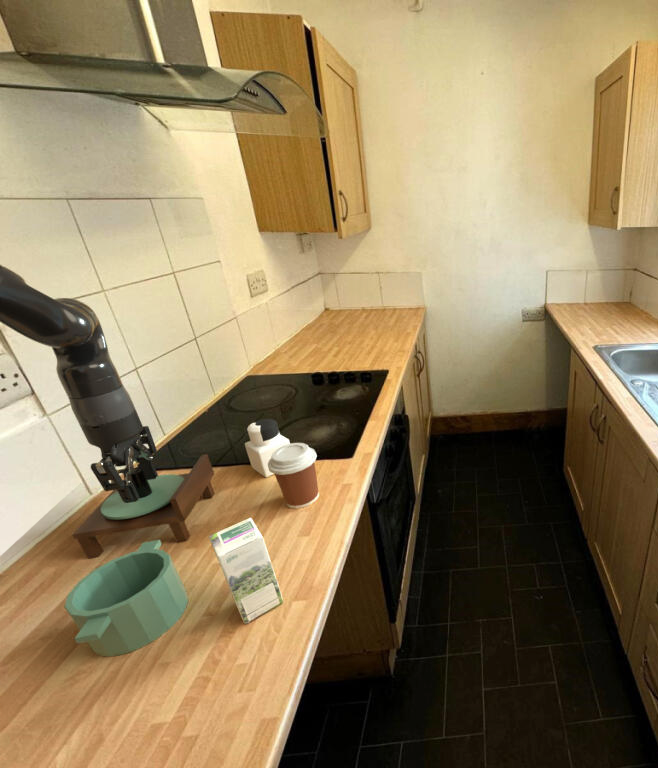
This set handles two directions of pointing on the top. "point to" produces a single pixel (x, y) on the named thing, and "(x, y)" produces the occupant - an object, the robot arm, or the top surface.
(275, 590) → the milk carton
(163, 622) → the pot
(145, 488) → the lid
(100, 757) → the top surface
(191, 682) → the top surface
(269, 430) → the medicine bottle
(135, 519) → the shelf
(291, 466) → the coffee cup
